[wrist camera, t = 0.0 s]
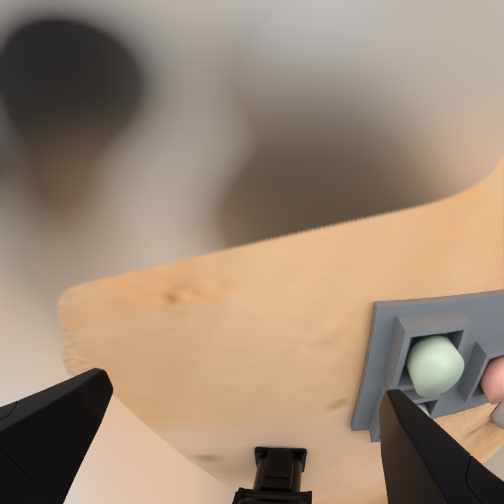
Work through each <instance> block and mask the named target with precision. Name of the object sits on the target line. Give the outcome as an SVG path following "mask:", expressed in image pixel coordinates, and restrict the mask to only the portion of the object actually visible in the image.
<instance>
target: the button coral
mask: <svg viewBox="0 0 504 504" xmlns="http://www.w3.org/2000/svg"><path fill="white" fill-rule="evenodd" d="M479 385H480V387H481V388H482V390H483V392H484V393H485V395H486V397H487V398H488V400H489V402H490V403H491V404H497V403H500V402H502V401H503V400H504V355H501V356H498V357H495V358H493V359H492V360H491V361H490V362H489V363H488V364H487V365H486V368H485V370H484V372H483V374H482V377H481V379H480V381H479Z"/></svg>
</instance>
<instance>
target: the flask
mask: <svg viewBox="0 0 504 504" xmlns="http://www.w3.org/2000/svg"><path fill="white" fill-rule="evenodd" d="M491 417H492V421H493V422H494V423H495V424H497V425H498V426H500V427H501V428H503V429H504V400H503V401H502V402H501V403H500V404H499V406H498V407H497V408H496V409H495V411H494V412H493V413H492V414H491Z"/></svg>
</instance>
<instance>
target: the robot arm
mask: <svg viewBox="0 0 504 504" xmlns="http://www.w3.org/2000/svg"><path fill="white" fill-rule="evenodd" d="M112 394H113V386H112V383H111V381H110V379H109V377H108V375H107V373H106V371H105V370H103V369H99V368H93V369H91V370H89V371H86V372H84V373H82V374H80V375H77V376H75V377H73V378H70V379H68V380H66V381H64V382H61V383H59V384H57V385H54V386H52V387H50V388H47V389H45V390H43V391H40V392H38V393H35V394H33V395H30V396H28V397H25V398H23V399H21V400H19V401H16V402H13V403H11V404H8V405H5V406H2V407H0V504H63V503H64V501H65V498H66V496H67V494H68V492H69V489H70V487H71V485H72V483H73V480H74V478H75V476H76V474H77V472H78V470H79V468H80V465H81V463H82V461H83V459H84V457H85V455H86V453H87V451H88V449H89V447H90V444H91V443H92V441H93V439H94V437H95V435H96V433H97V430H98V429H99V427H100V424H101V422H102V419H103V417H104V414H105V412H106V409H107V406H108V404H109V401H110V399H111V396H112ZM379 425H380V440H381V457H382V464H383V470H384V476H385V483H386V490H387V497H388V504H504V481H502V480H501V479H500V478H498V477H497V476H496V475H494V474H493V473H492V472H490V471H489V470H488V469H487V468H486V467H484V466H483V465H482V464H481V463H480V462H479V461H477V460H476V459H475V458H474V457H473V456H470V453H469V452H468V451H466V450H465V449H464V448H463V447H462V446H461V445H460V444H459V443H458V442H457V441H456V440H454V439H453V438H452V437H451V436H450V435H449V434H448V433H447V432H446V431H445V430H444V429H443V428H441V427H440V426H439V425H438V424H437V423H436V422H435V421H434V420H433V419H432V418H431V417H429V416H428V415H427V414H426V413H425V412H424V411H423V410H422V409H421V408H420V407H419V406H418V405H416V404H415V403H414V402H413V401H412V400H411V399H410V398H409V397H408V396H407V395H406V394H404V393H403V392H402V391H401V390H400V389H398V388H396V389H388V390H386V391H385V392H384V395H383V398H382V401H381V404H380V408H379ZM254 452H255V458H256V465H257V472H256V477H255V482H254V487H253V489H244V488H240V487H239V490H238V491H237V492H235V496H234V500H233V503H232V504H312V491H307V492H300V486H301V474H302V472H304V468H305V461H306V454H307V450H306V449H286V448H264V447H256V448H255V451H254Z"/></svg>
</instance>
